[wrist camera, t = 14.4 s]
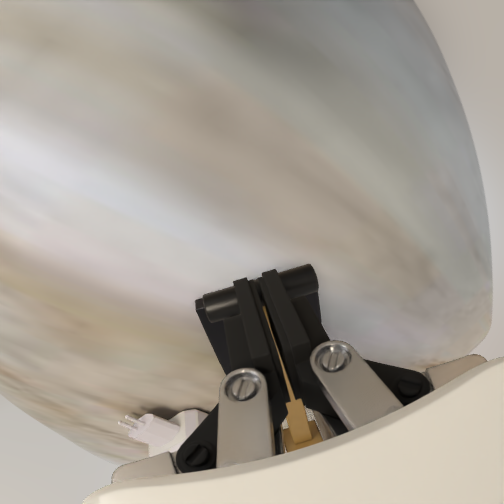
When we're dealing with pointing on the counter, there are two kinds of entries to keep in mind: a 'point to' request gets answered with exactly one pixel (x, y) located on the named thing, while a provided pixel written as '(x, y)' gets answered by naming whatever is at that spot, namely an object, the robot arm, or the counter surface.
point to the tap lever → (227, 306)
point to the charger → (164, 430)
